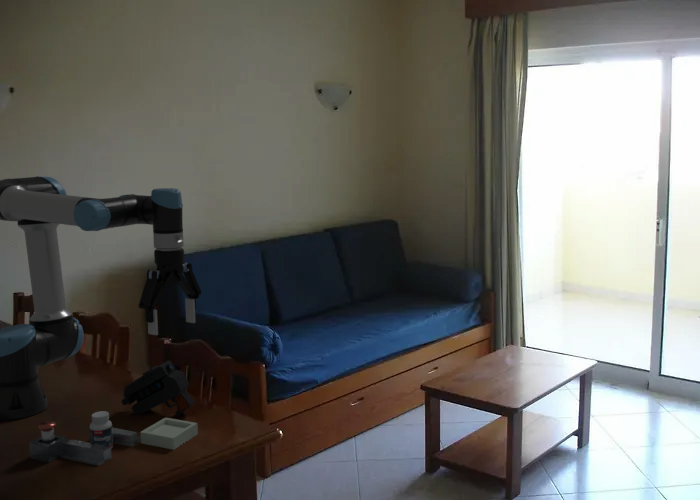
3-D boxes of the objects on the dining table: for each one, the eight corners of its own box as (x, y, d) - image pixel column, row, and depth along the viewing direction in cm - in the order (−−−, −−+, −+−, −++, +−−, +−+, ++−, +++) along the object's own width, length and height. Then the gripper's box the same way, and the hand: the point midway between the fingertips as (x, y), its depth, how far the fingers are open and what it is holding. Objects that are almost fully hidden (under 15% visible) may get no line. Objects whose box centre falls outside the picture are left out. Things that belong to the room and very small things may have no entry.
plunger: (36, 448, 172) (34, 425, 171) (48, 442, 176) (47, 420, 175) (48, 451, 171) (46, 428, 170) (60, 445, 174) (59, 422, 173)
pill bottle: (92, 454, 174) (90, 419, 172) (89, 446, 178) (86, 412, 177) (115, 450, 176) (112, 415, 175) (111, 442, 181) (109, 408, 179)
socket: (59, 457, 172) (58, 446, 172) (105, 432, 187) (104, 422, 186) (98, 466, 168) (97, 454, 167) (142, 439, 182) (142, 429, 182)
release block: (30, 458, 172) (29, 442, 171) (49, 448, 177) (48, 433, 177) (49, 462, 170) (48, 446, 169) (68, 452, 175) (67, 437, 174)
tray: (141, 443, 180) (140, 431, 179) (166, 428, 189) (165, 417, 189) (173, 449, 176) (173, 438, 176) (197, 434, 185) (197, 423, 185)
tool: (192, 409, 194) (164, 361, 193) (137, 438, 199) (110, 392, 198) (201, 401, 200) (174, 355, 199) (148, 429, 205) (121, 384, 204)
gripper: (142, 256, 173) (146, 341, 177) (212, 243, 194) (215, 319, 198) (121, 254, 177) (125, 337, 181) (192, 241, 198) (195, 315, 202)
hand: (172, 328), depth 189 cm, fingers open, 13 cm apart
